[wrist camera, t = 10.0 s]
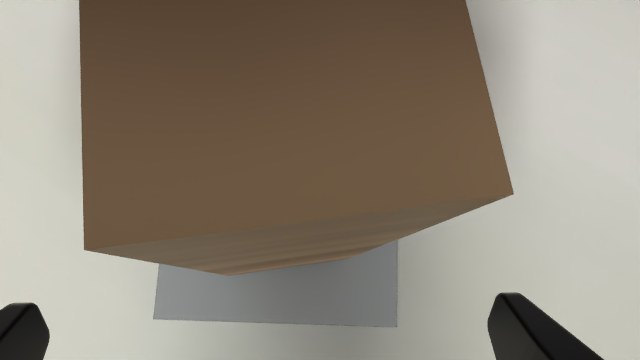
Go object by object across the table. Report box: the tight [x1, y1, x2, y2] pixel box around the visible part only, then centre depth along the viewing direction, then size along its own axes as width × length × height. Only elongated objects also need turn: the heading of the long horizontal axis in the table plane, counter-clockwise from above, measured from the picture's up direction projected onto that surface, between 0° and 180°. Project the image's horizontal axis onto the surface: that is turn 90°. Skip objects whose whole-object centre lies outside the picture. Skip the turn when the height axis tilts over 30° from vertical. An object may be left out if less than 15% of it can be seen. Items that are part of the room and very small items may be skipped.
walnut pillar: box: [79, 0, 514, 276], centre depth 11 cm, size 4×4×12 cm
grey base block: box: [153, 240, 397, 327], centre depth 18 cm, size 9×9×4 cm
